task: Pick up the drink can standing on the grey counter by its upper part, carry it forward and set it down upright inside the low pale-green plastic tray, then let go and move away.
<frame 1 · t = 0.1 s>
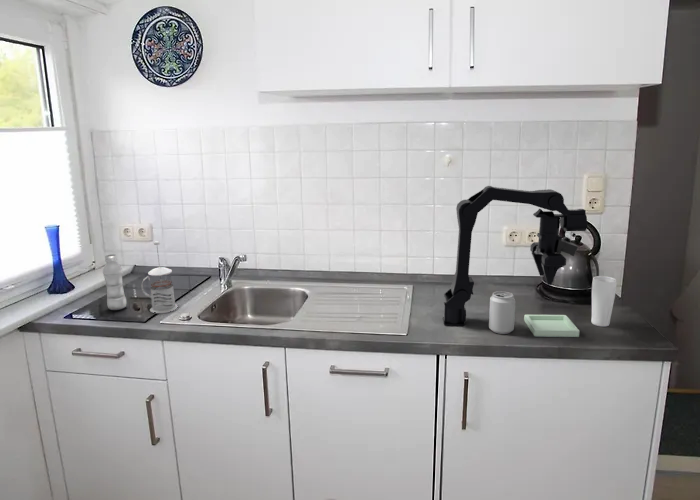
hand: (545, 280, 163), 15 cm above the worktop, tool pointing down, fingers open, 9 cm apart
tray: (550, 328, 162), on the worktop
drinking glass: (600, 324, 165), on the worktop
plastic bottle: (117, 309, 188), on the worktop
french press: (161, 309, 187), on the worktop
can: (501, 330, 162), on the worktop
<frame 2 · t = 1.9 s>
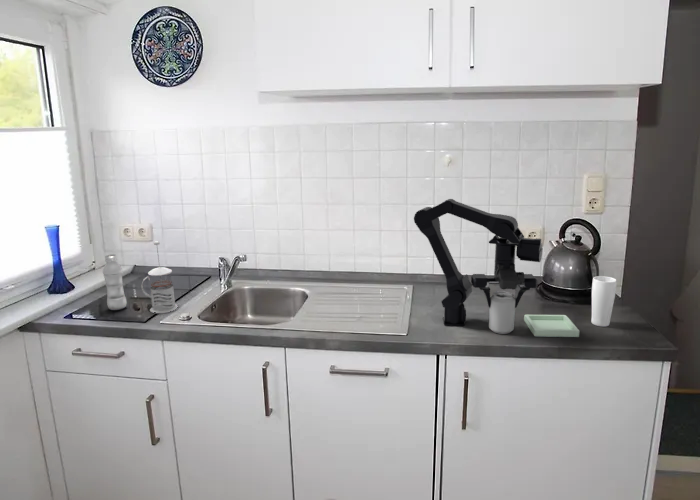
hand: (502, 307, 160), 8 cm above the worktop, tool pointing down, fingers closed on can, 7 cm apart
can: (501, 330, 162), on the worktop, touching gripper
everything else where it was.
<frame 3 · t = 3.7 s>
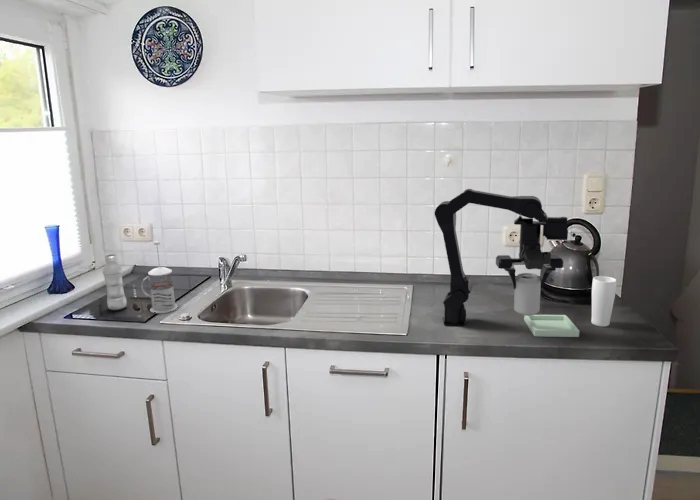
hand: (527, 288, 159), 13 cm above the worktop, tool pointing down, fingers closed on can, 7 cm apart
can: (526, 312, 160), point 6 cm above the worktop, touching gripper
everything else where it was.
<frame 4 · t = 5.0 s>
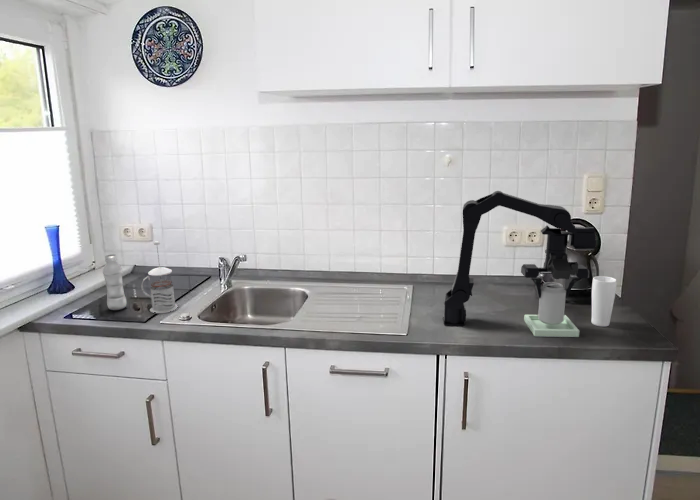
hand: (552, 297, 160), 10 cm above the worktop, tool pointing down, fingers closed on can, 7 cm apart
can: (550, 321, 162), point 2 cm above the worktop, touching gripper
everything else where it was.
when the fingers open (9 cm above the worktop, at t = 5.9 s): can stays where it is, resting on tray.
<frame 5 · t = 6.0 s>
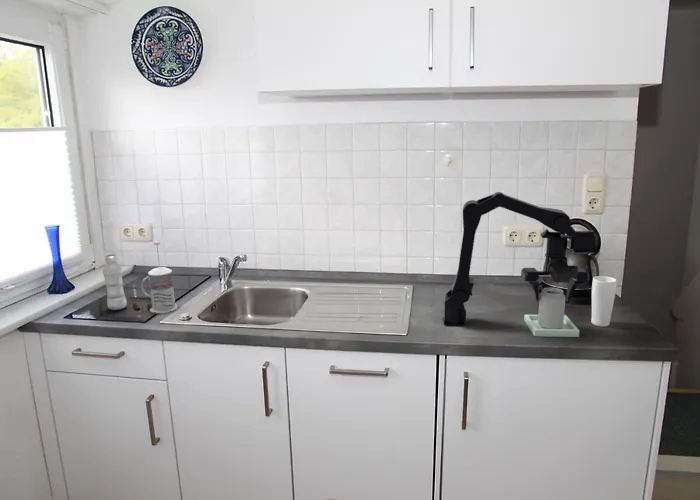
hand: (552, 301, 160), 9 cm above the worktop, tool pointing down, fingers open, 9 cm apart
can: (550, 327, 162), resting on tray
everything else where it was.
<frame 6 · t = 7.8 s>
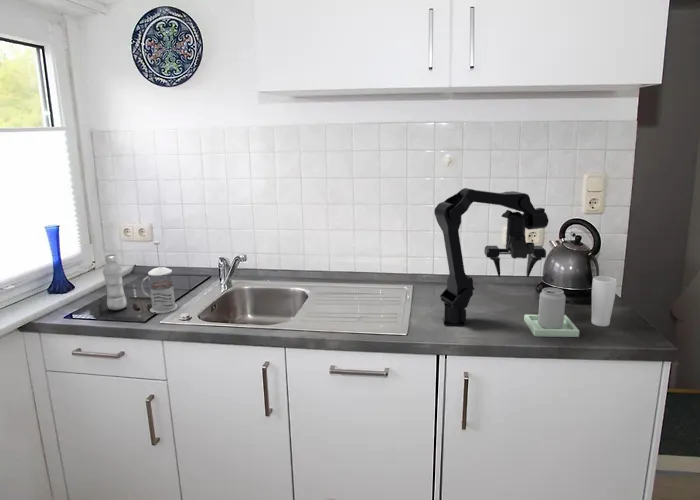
hand: (513, 276, 172), 13 cm above the worktop, tool pointing down, fingers open, 9 cm apart
nothing on the worktop moved.
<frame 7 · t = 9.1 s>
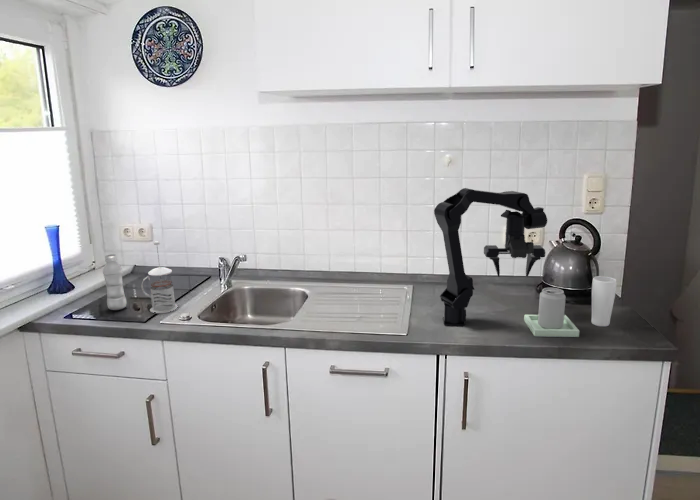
hand: (512, 276, 173), 13 cm above the worktop, tool pointing down, fingers open, 9 cm apart
nothing on the worktop moved.
at the end: can inside the target area on the tray (0.1 cm from its centre), point 0.4 cm above the tray's base; can tilted 0°; the gripper is holding nothing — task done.
